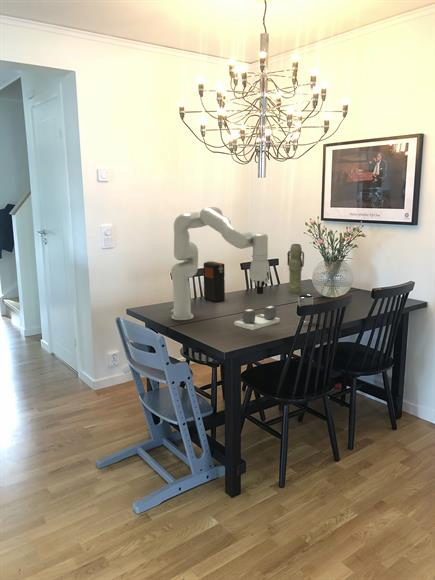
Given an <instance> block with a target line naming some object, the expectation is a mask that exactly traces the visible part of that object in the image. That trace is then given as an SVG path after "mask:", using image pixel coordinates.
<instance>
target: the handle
mask: <svg viewBox="0 0 435 580" xmlns="http://www.w3.org/2000/svg"><path fill="white" fill-rule="evenodd" d="M263 309H264V312H263V313H264V314H263V315H264V318H265V319H269V320H270V319H274V318H277V307H276V306H273V305H269V306H265V307H264V308H263Z"/></svg>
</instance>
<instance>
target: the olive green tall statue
mask: <svg viewBox="0 0 435 580" xmlns="http://www.w3.org/2000/svg"><path fill="white" fill-rule="evenodd" d="M302 250H303V249H302V245H301V244H300V243H293V244H291V246H290V249H289V251H288V252H286V253H287V265H288V270H289V283H288V295H289V294H290V295H300V294H301V295H302V290H303V289H302V270H303V267H304V265H305V252H304V251H302ZM290 295H289V296H290Z"/></svg>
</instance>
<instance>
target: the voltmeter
mask: <svg viewBox="0 0 435 580" xmlns="http://www.w3.org/2000/svg"><path fill="white" fill-rule="evenodd" d="M225 277H226V276H225V264H224V263H221V262H217V261H210V260H209V261H205V262H204V263H203V297H204V299H206V300H209V301H212V302H215V303H218V302H225V300H226V297H225V296H226V295H225V293H226V291H225V289H226V288H225V286H226V285H225V282H226V281H225Z"/></svg>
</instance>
